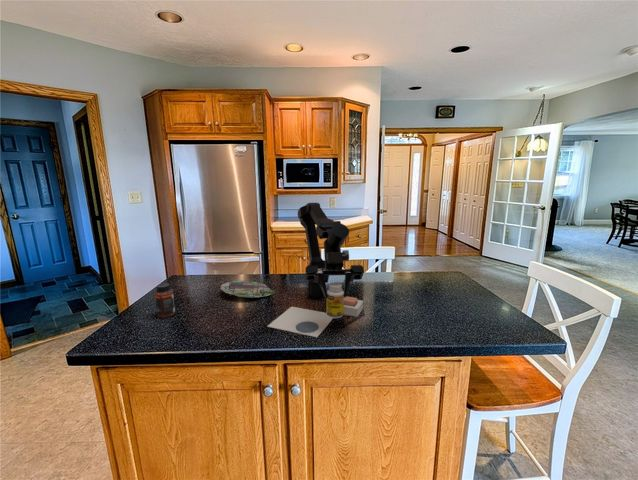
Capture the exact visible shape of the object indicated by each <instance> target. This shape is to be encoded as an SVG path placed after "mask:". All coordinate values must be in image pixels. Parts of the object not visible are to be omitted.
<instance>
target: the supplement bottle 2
mask: <svg viewBox="0 0 638 480" xmlns="http://www.w3.org/2000/svg"><path fill="white" fill-rule="evenodd" d="M342 287H343V284H341V283H339V282H332V283H329V285H328V288H327V289H326V290H327V298H326V304H325V305H326V309H325V310H326V311H325V313H326V314H327V316H329V317H331V318H333V319H340V318H342V317H343V316H344V298H345V297H344V289H343V288H342Z"/></svg>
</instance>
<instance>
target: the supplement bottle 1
mask: <svg viewBox="0 0 638 480" xmlns="http://www.w3.org/2000/svg"><path fill="white" fill-rule="evenodd" d="M154 302H155V310H156V316H157V317H158V318H161V319H163V318H169V317H172V316H173V315H175V314H176V307H175V306H176V305H175V296H174V291H173V289H172V288H170V284H169V283H159V284H157V285H156V291H155V292H154Z"/></svg>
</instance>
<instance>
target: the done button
mask: <svg viewBox="0 0 638 480" xmlns="http://www.w3.org/2000/svg"><path fill="white" fill-rule="evenodd" d="M344 298H345V297H344ZM357 300H358V297H352V296H347V295H346V298H345V299H344V305H347V306H353V307H355V306H356V304H357Z"/></svg>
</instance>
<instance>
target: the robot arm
mask: <svg viewBox="0 0 638 480" xmlns="http://www.w3.org/2000/svg"><path fill="white" fill-rule="evenodd" d="M297 218H298V219H299V223H300V225H301V226H302V227H303V228H304V230H305V231H304V233H305V238H306V244H307V251H308V255H309V263H308V265H306V267H305V274H304V280H305V283H306V284H307V296H306V298H308V299H313V300H320V301H321V300H322V299H324V298H325V299H327V290H328V289H327V285H326V284H327V283H329V278H330V277H329V276H344V280H343V291H344V298H346V296H347V294H348V290H349V286H350V284H351V283H353V282H354V281H357V280H358V281H359V280H362V279H363V277H364V273H365V270H364V269H365V268H364V266H363V265H362V264H351V265H350V267H349V268H344V264H345V263H344V262H349V260H350V253H349V251H350V250H347V249H345V250H342V248H341V246H343V245H344V243H345V242H346V240H347V239H348V236H349V234H350V230H349V228H348V226H347V225H345V224H343V223H341V222H342V221H341V220H334V219H330V218H328V216H327V215H326V214H325V212H324V211H323V209H322V207H321V204H320V203H319V202H308V203H306V204H305V205H303V206H301V207H299V208H298V210H297ZM319 239H320V240H324V241H323V252H324V260H323V258H322V256H321V250H320V244H319Z"/></svg>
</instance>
